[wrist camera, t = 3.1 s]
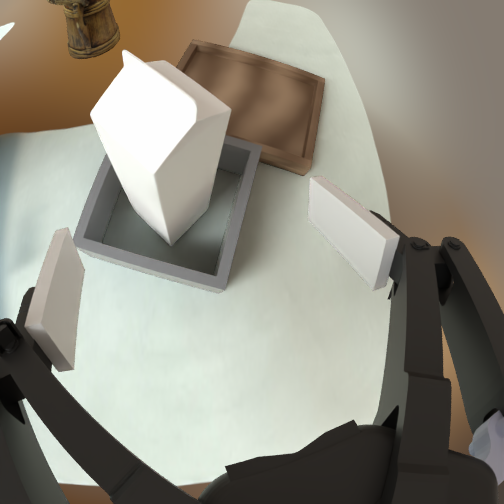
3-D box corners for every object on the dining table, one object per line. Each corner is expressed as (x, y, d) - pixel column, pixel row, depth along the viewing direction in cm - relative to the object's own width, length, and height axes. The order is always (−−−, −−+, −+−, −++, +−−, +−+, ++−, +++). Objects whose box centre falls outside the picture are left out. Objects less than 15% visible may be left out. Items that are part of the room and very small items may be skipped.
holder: (89, 255, 31) (71, 245, 25) (134, 139, 34) (127, 111, 28) (218, 293, 33) (224, 290, 27) (250, 170, 36) (262, 146, 31)
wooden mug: (58, 85, 33) (22, -4, 16) (74, 31, 35) (56, -48, 18) (113, 74, 35) (95, -26, 18) (123, 22, 37) (117, -63, 20)
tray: (149, 131, 35) (147, 120, 32) (191, 50, 38) (192, 39, 36) (303, 176, 38) (310, 167, 35) (319, 88, 41) (325, 78, 39)
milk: (171, 247, 33) (145, 147, 12) (133, 210, 33) (72, 81, 11) (209, 208, 35) (243, 74, 13) (171, 174, 34) (164, 22, 13)
